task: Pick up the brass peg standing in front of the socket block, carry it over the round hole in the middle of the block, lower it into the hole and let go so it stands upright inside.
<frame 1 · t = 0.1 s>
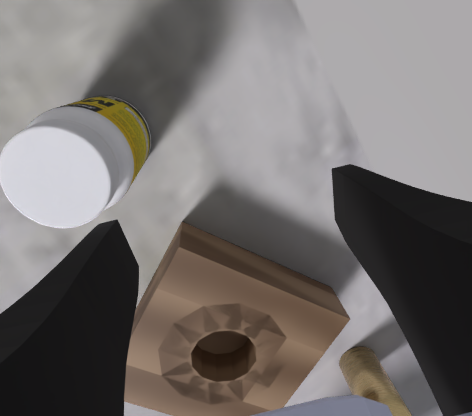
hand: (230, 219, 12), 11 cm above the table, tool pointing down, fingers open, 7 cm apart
brass peg: (357, 361, 29), on the table
supplement bottle: (111, 136, 21), on the table
socket block: (221, 321, 26), on the table
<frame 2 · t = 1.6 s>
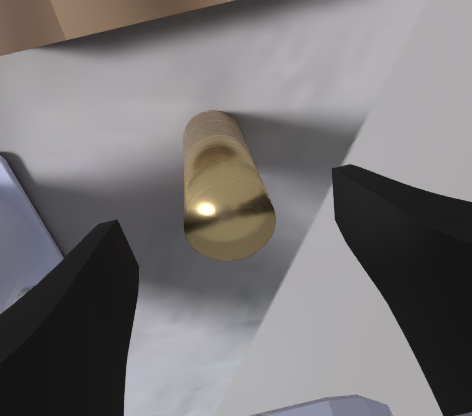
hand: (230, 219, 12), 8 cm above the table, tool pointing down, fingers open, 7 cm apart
brass peg: (212, 139, 18), on the table
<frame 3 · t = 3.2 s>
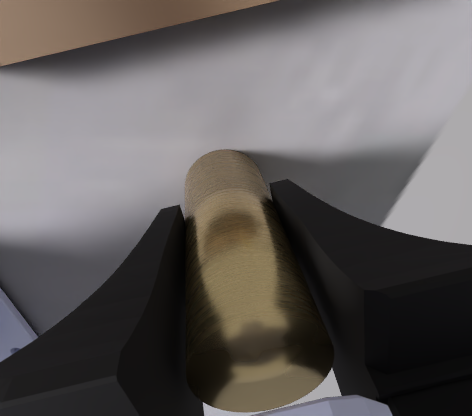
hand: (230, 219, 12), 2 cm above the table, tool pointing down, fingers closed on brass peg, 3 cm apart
brass peg: (223, 185, 14), on the table, touching gripper
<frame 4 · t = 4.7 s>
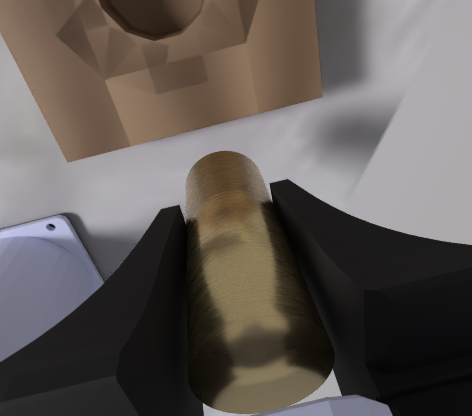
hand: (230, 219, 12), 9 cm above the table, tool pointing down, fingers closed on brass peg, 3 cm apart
brass peg: (224, 186, 14), point 7 cm above the table, touching gripper
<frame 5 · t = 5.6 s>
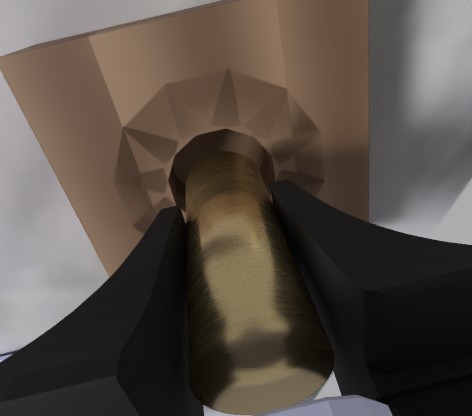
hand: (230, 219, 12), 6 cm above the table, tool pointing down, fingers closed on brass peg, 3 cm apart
brass peg: (224, 186, 14), point 4 cm above the table, touching gripper
socket block: (216, 148, 17), on the table
when the fingers open (4 cm above the table, at t = 6.3 s): brass peg stays where it is, resting on socket block.
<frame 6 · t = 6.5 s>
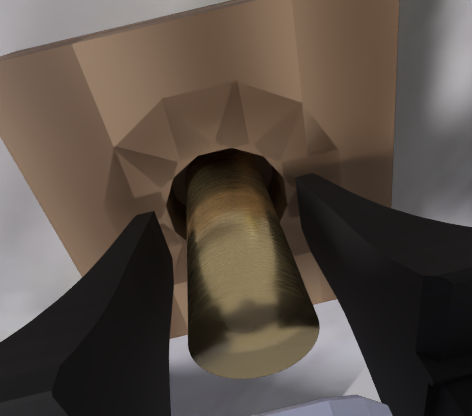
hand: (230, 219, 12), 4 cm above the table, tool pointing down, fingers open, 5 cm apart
brass peg: (222, 176, 15), point 1 cm above the table, touching socket block
socket block: (219, 165, 16), on the table
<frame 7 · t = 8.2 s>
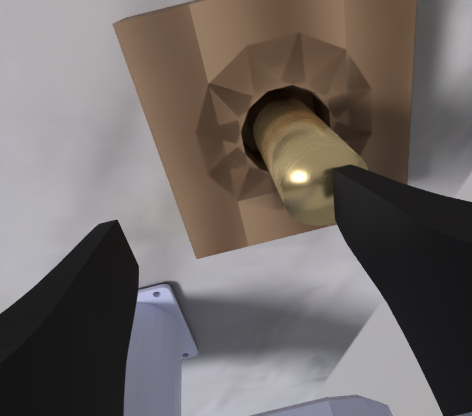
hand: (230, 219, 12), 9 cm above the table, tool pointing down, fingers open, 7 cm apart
brass peg: (275, 117, 19), point 1 cm above the table, touching socket block
socket block: (271, 111, 20), on the table
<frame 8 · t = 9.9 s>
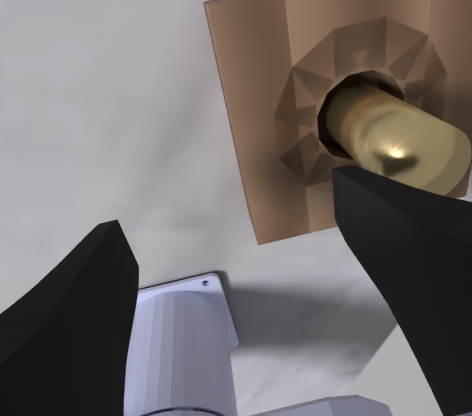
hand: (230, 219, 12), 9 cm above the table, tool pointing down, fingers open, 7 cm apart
brass peg: (341, 105, 19), point 1 cm above the table, touching socket block
socket block: (334, 99, 20), on the table
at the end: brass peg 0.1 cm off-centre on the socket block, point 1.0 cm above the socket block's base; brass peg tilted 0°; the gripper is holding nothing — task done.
